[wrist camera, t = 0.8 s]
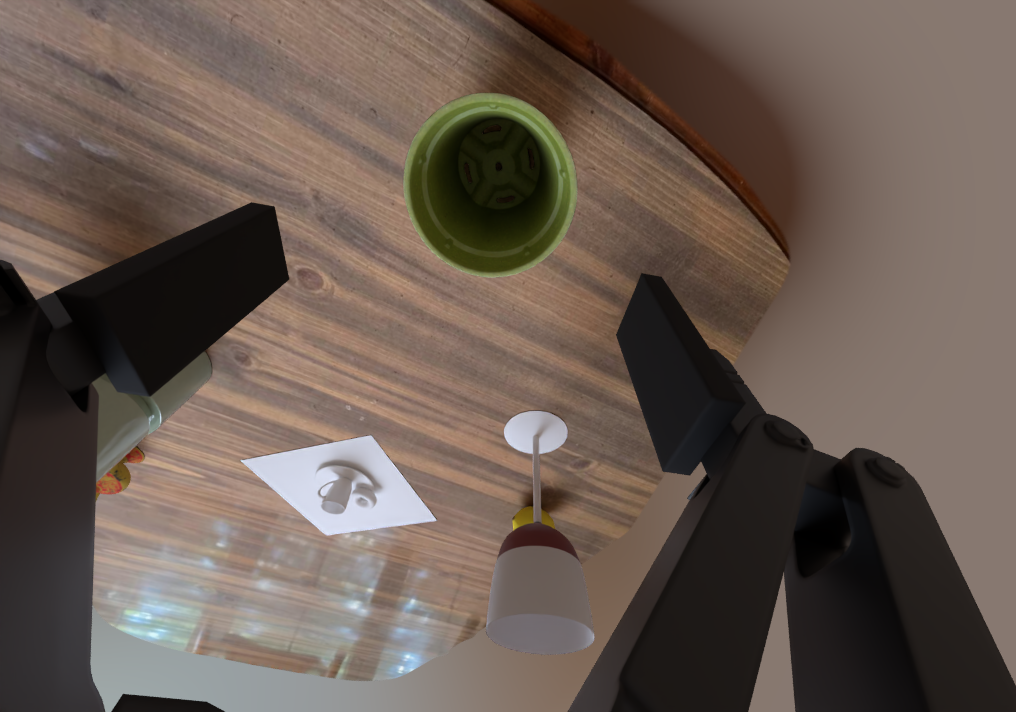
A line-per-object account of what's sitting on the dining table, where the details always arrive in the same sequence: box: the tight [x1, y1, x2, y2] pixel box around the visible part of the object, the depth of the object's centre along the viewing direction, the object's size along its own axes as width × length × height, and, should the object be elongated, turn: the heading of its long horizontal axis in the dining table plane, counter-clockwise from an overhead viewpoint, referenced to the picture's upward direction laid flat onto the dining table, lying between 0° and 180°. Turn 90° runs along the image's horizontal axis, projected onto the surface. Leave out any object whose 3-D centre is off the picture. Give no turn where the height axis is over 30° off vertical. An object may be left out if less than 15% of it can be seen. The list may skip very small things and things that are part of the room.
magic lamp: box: [96, 447, 144, 500], centre depth 44 cm, size 7×18×11 cm, turn 152°
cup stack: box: [92, 351, 212, 483], centre depth 33 cm, size 10×10×16 cm
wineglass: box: [486, 411, 594, 655], centre depth 36 cm, size 8×9×20 cm
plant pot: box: [403, 93, 577, 277], centre depth 24 cm, size 9×9×9 cm
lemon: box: [513, 506, 555, 531], centre depth 52 cm, size 7×5×5 cm
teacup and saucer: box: [314, 464, 378, 516], centre depth 50 cm, size 9×8×4 cm
